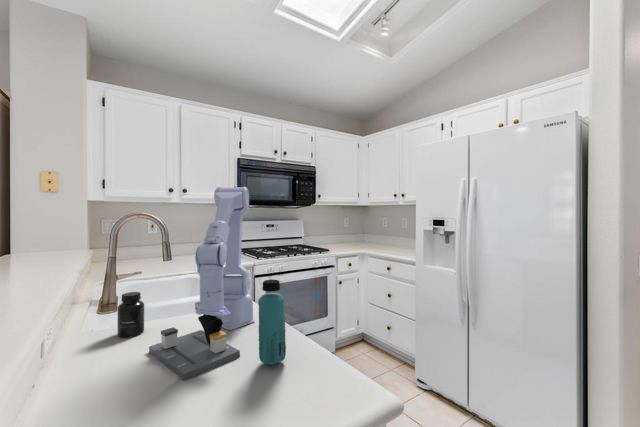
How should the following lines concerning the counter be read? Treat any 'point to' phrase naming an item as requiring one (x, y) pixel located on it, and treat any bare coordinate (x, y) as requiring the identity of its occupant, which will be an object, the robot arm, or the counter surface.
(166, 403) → the counter surface
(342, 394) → the counter surface
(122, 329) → the supplement bottle
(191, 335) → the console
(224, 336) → the fader orange
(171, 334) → the fader black
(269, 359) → the beverage bottle
